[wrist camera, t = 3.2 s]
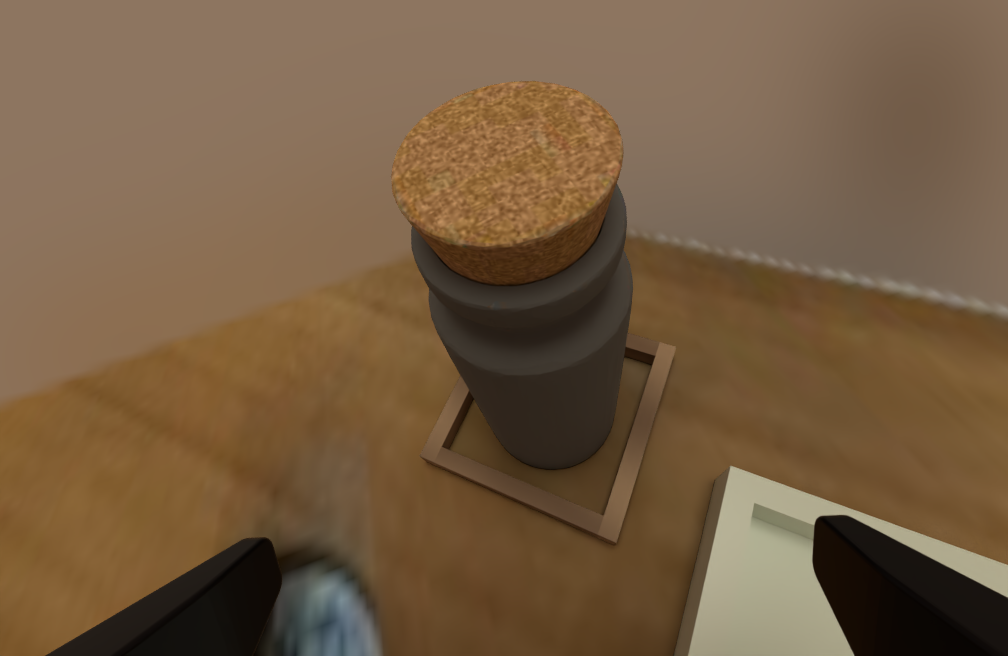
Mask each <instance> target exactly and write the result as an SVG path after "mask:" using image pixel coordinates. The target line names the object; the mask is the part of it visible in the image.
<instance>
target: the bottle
mask: <svg viewBox="0 0 1008 656" xmlns="http://www.w3.org/2000/svg"><path fill="white" fill-rule="evenodd" d="M622 160H623V142H622V138H621V134H620V131H619V129H618V126H617V124H616V123H615V121H614V120H613V118H612V117H611V115H610V114H609V113H608V111H607V110H606V109H604V108H603V107H602V106H601V105H600V104H599V103H597V102H596V101H595V100H593V99H592V98H591V97H589V96H587V95H585V94H583V93H581V92H579V91H577V90H574V89H571V88H568V87H564V86H561V85H558V84H552V83H544V82H536V81H522V82H521V81H520V82H507V83H501V84H496V85H490V86H486V87H482V88H478V89H475V90H472V91H470V92H467V93H464V94H462V95H460V96H457V97H455V98H453V99H451V100H449V101H448V102H446V103H444V104H442V105H441V106H439V107H437V108H436V109H434V110H433V111H432V112H430V113H429V114H428V115H426V116H425V117H424V118H423V119H421V120H420V121H419V122H418V124H416V125H415V127H414V128H413V129H412V130H411V131H410V132H409V133H408V135H407V136H406V138H405V139H404V141H403V143H402V144H401V146H400V148H399V149H398V151H397V154H396V157H395V160H394V163H393V167H392V175H391V179H392V192H393V195H394V198H395V200H396V203H397V205H398V207H399V209H400V211H401V212H402V214H403V215H404V216H405V217H406V219H407V220H408V221H409V222H410V224H411V225H412V230H411V244H412V251H413V255H414V258H415V261H416V264H417V266H418V268H419V271H420V272H421V274H422V276H423V278H424V280H425V282H426V284H427V285H428V287H429V305H430V311H431V317H432V320H433V323H434V325H435V328H436V330H437V333H438V335H439V337H440V338H441V340H442V342H443V344H444V346H445V348H446V350H447V352H448V354H449V356H450V357H451V359H452V361H453V363H454V364H455V366H456V368H457V370H458V371H459V373H460V375H461V377H462V378H463V380H464V382H465V384H466V385H467V387H468V389H469V391H470V392H471V394H472V396H473V398H474V399H475V401H476V403H477V405H478V406H479V408H480V410H481V412H482V413H483V415H484V417H485V419H486V420H487V422H488V424H489V425H490V427H491V429H492V430H493V432H494V434H495V435H496V437H497V438H498V440H499V441H500V442H501V444H502V445H503V446H504V448H505V449H506V450H507V451H508V452H509V453H510V454H511V455H513V456H514V457H515V458H516V459H518V460H520V461H522V462H524V463H526V464H528V465H530V466H533V467H537V468H543V469H562V468H568V467H571V466H574V465H577V464H579V463H581V462H583V461H585V460H586V459H588V458H589V457H590V456H592V455H593V454H594V453H595V452H596V451H597V450H598V449H599V448H600V447H601V446H602V445H603V443H604V441H605V440H606V438H607V436H608V434H609V432H610V430H611V427H612V424H613V419H614V415H615V410H616V404H617V398H618V392H619V386H620V379H621V373H622V367H623V361H624V354H625V347H626V340H627V333H628V327H629V320H630V313H631V304H632V293H633V281H632V274H631V268H630V264H629V261H628V259H627V256H626V254H625V252H624V250H623V249H624V244H625V239H626V227H627V217H626V206H625V202H624V199H623V196H622V193H621V191H620V189H619V187H618V185H617V180H618V178H619V174H620V170H621V167H622Z"/></svg>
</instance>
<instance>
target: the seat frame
mask: <svg viewBox="0 0 1008 656" xmlns="http://www.w3.org/2000/svg"><path fill="white" fill-rule="evenodd" d="M675 350H676V347H675V346H671V345H668V344H664V343H661V342H657V341H654V340H651V339H647V338H644V337H640V336H637V335H633V334H630V333H627V340H626V347H625V354H624V356H626V357H629V358H632V359H635V360H638V361H642V362H645V363H648V364H651V365H652V368H651V371H650V374H649V377H648V381H647V384H646V387H645V390H644V393H643V396H642V399H641V402H640V405H639V408H638V412H637V415H636V418H635V421H634V424H633V427H632V430H631V433H630V436H629V439H628V442H627V446H626V449H625V452H624V455H623V458H622V461H621V464H620V467H619V470H618V473H617V476H616V480H615V483H614V486H613V489H612V492H611V495H610V498H609V501H608V504H607V507H606V511H605V514H604V516H603V515H601V514H598V513H596V512H594V511H591V510H589V509H587V508H584V507H582V506H579V505H577V504H575V503H572V502H570V501H568V500H565V499H563V498H561V497H558V496H556V495H554V494H551V493H549V492H547V491H544V490H542V489H540V488H537V487H535V486H533V485H530V484H528V483H526V482H523V481H521V480H518V479H516V478H514V477H511V476H509V475H507V474H504V473H502V472H500V471H497V470H495V469H493V468H490V467H488V466H486V465H483V464H481V463H479V462H476V461H474V460H472V459H469V458H467V457H464V456H462V455H460V454H457V453H455V452H453V451H450V450H449V448H450V446H451V444H452V442H453V440H454V438H455V435H456V433H457V431H458V429H459V427H460V425H461V423H462V421H463V419H464V417H465V415H466V413H467V411H468V409H469V407H470V404H471V402H472V400H473V396H472V394H471V392H470V391H469V389H468V387H467V385H466V384H465V382H464V380H463V378H462V377H461V375H460V377H459V379H458V381H457V383H456V385H455V387H454V389H453V391H452V393H451V395H450V397H449V399H448V401H447V403H446V405H445V407H444V409H443V411H442V413H441V415H440V417H439V419H438V421H437V423H436V425H435V427H434V429H433V430H432V432H431V434H430V436H429V438H428V440H427V442H426V444H425V446H424V448H423V450H422V452H421V454H420V457H421V458H422V459H424V460H425V461H426V462H428V463H431V464H433V465H435V466H437V467H440V468H442V469H444V470H446V471H449V472H451V473H453V474H455V475H458V476H460V477H462V478H464V479H467V480H469V481H471V482H473V483H476V484H478V485H480V486H482V487H485V488H487V489H489V490H491V491H494V492H496V493H498V494H500V495H503V496H505V497H507V498H509V499H512V500H514V501H516V502H518V503H521V504H523V505H525V506H528V507H530V508H532V509H534V510H537V511H539V512H541V513H543V514H546V515H548V516H550V517H552V518H555V519H557V520H559V521H561V522H564V523H566V524H568V525H570V526H573V527H575V528H577V529H579V530H582V531H584V532H586V533H588V534H591V535H593V536H595V537H597V538H600V539H602V540H604V541H606V542H609V543H611V544H613V545H616V543H617V540H618V536H619V533H620V530H621V526H622V523H623V520H624V517H625V513H626V510H627V507H628V504H629V500H630V497H631V494H632V490H633V487H634V484H635V481H636V477H637V474H638V471H639V468H640V464H641V461H642V458H643V454H644V451H645V448H646V445H647V441H648V438H649V435H650V431H651V428H652V425H653V422H654V418H655V415H656V412H657V409H658V405H659V402H660V399H661V395H662V392H663V389H664V386H665V382H666V379H667V376H668V372H669V369H670V366H671V363H672V359H673V356H674V353H675Z"/></svg>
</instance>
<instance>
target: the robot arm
mask: <svg viewBox="0 0 1008 656" xmlns="http://www.w3.org/2000/svg"><path fill="white" fill-rule="evenodd" d="M812 563H813V569H814V572H815V575H816V578H817V580H818V582H819V584H820V586H821V588H822V590H823V592H824V594H825V596H826V599H827V601H828V603H829V605H830V607H831V609H832V611H833V613H834V615H835V617H836V619H837V621H838V623H839V625H840V627H841V629H842V632H843V634H844V636H845V638H846V640H847V642H848V644H849V646H850V648H851V650H852V652H853V654H854V656H1008V597H1006V596H1004V595H1002V594H1000V593H998V592H996V591H994V590H992V589H990V588H988V587H986V586H984V585H983V584H981V583H979V582H977V581H975V580H973V579H971V578H969V577H967V576H965V575H963V574H961V573H959V572H957V571H955V570H953V569H951V568H949V567H948V566H946V565H944V564H942V563H940V562H938V561H936V560H934V559H932V558H930V557H928V556H926V555H924V554H922V553H920V552H918V551H916V550H915V549H913V548H911V547H909V546H907V545H905V544H903V543H901V542H899V541H897V540H895V539H893V538H891V537H889V536H887V535H885V534H883V533H882V532H880V531H878V530H876V529H874V528H872V527H870V526H868V525H866V524H864V523H862V522H860V521H858V520H856V519H854V518H852V517H850V516H847V515H825V516H819V517H818V518H817V519H816V521H815V524H814V538H813V554H812ZM281 585H282V574H281V570H280V567H279V564H278V560H277V557H276V554H275V550H274V547H273V544H272V542H271V541H270V540H269V539H268V538H265V537H260V538H246V539H243V540H241V541H239V542H238V543H236V544H234V545H232V546H231V547H229V548H227V549H226V550H224V551H222V552H221V553H219V554H217V555H215V556H214V557H212V558H210V559H209V560H207V561H205V562H204V563H202V564H200V565H198V566H197V567H195V568H193V569H192V570H190V571H188V572H187V573H185V574H183V575H181V576H180V577H178V578H176V579H175V580H173V581H171V582H170V583H168V584H166V585H165V586H163V587H161V588H159V589H158V590H156V591H154V592H153V593H151V594H149V595H148V596H146V597H144V598H142V599H141V600H139V601H137V602H136V603H134V604H132V605H131V606H129V607H127V608H125V609H124V610H122V611H120V612H119V613H117V614H115V615H114V616H112V617H110V618H108V619H107V620H105V621H103V622H102V623H100V624H98V625H97V626H95V627H93V628H92V629H90V630H88V631H86V632H85V633H83V634H81V635H80V636H78V637H76V638H75V639H73V640H71V641H69V642H68V643H66V644H64V645H63V646H61V647H59V648H58V649H56V650H54V651H52V652H51V653H49V654H47V655H46V656H253V654H254V652H255V650H256V647H257V645H258V642H259V640H260V638H261V635H262V633H263V630H264V628H265V626H266V623H267V621H268V618H269V616H270V614H271V611H272V609H273V606H274V604H275V602H276V599H277V597H278V595H279V592H280V589H281Z"/></svg>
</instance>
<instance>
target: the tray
mask: <svg viewBox="0 0 1008 656" xmlns="http://www.w3.org/2000/svg"><path fill="white" fill-rule="evenodd" d="M825 515H847V516H850V517H852V518H854V519H856V520H858V521H860V522H862V523H864V524H866V525H868V526H870V527H872V528H874V529H876V530H878V531H880V532H882V533H883V534H885V535H887V536H889V537H891V538H893V539H895V540H897V541H899V542H901V543H903V544H905V545H907V546H909V547H911V548H913V549H915V550H916V551H918V552H920V553H922V554H924V555H926V556H928V557H930V558H932V559H934V560H936V561H938V562H940V563H942V564H944V565H946V566H948V567H949V568H951V569H953V570H955V571H957V572H959V573H961V574H963V575H965V576H967V577H969V578H971V579H973V580H975V581H977V582H979V583H981V584H983V585H984V586H986V587H988V588H990V589H992V590H994V591H996V592H998V593H1000V594H1002V595H1004V596H1006V597H1008V565H1006V564H1003V563H1000V562H997V561H995V560H992V559H989V558H986V557H983V556H981V555H978V554H975V553H972V552H969V551H967V550H964V549H961V548H958V547H956V546H953V545H950V544H947V543H944V542H942V541H939V540H936V539H933V538H930V537H928V536H925V535H922V534H919V533H916V532H914V531H911V530H908V529H905V528H903V527H900V526H897V525H894V524H891V523H889V522H886V521H883V520H880V519H877V518H875V517H872V516H869V515H866V514H864V513H861V512H858V511H855V510H852V509H850V508H847V507H844V506H841V505H838V504H836V503H833V502H830V501H827V500H825V499H822V498H819V497H816V496H813V495H811V494H808V493H805V492H802V491H799V490H797V489H794V488H791V487H788V486H786V485H783V484H780V483H777V482H774V481H772V480H769V479H766V478H763V477H760V476H758V475H755V474H752V473H749V472H746V471H744V470H741V469H738V468H735V467H733V466H730V467H729V468H728V469H727V470H725V471H724V472H723V473H722V474H721V475H720V476H719V477H718V478H717V479H715V482H714V486H713V490H712V495H711V499H710V503H709V507H708V512H707V516H706V520H705V524H704V529H703V533H702V537H701V541H700V546H699V550H698V554H697V558H696V563H695V567H694V571H693V575H692V580H691V584H690V588H689V592H688V597H687V601H686V605H685V609H684V614H683V618H682V622H681V626H680V631H679V635H678V639H677V644H676V648H675V652H674V656H854V654H853V652H852V650H851V648H850V646H849V644H848V642H847V640H846V638H845V636H844V634H843V632H842V629H841V627H840V625H839V623H838V621H837V619H836V617H835V615H834V613H833V611H832V609H831V607H830V605H829V603H828V601H827V599H826V596H825V594H824V592H823V590H822V588H821V586H820V584H819V582H818V580H817V578H816V575H815V572H814V569H813V563H812V554H813V538H814V524H815V521H816V519H817V518H818V517H819V516H825Z"/></svg>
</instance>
